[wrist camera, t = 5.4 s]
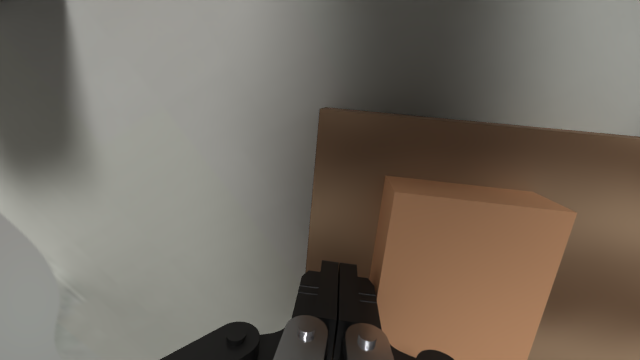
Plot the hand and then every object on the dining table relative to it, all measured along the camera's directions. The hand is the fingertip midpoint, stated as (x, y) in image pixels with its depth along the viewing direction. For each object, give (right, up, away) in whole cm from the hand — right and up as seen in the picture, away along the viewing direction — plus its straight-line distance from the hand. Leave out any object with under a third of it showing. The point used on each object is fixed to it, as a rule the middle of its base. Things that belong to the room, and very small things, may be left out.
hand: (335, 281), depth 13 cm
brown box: (+7, +1, +5) cm, 8 cm away
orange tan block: (+5, 0, +1) cm, 5 cm away
